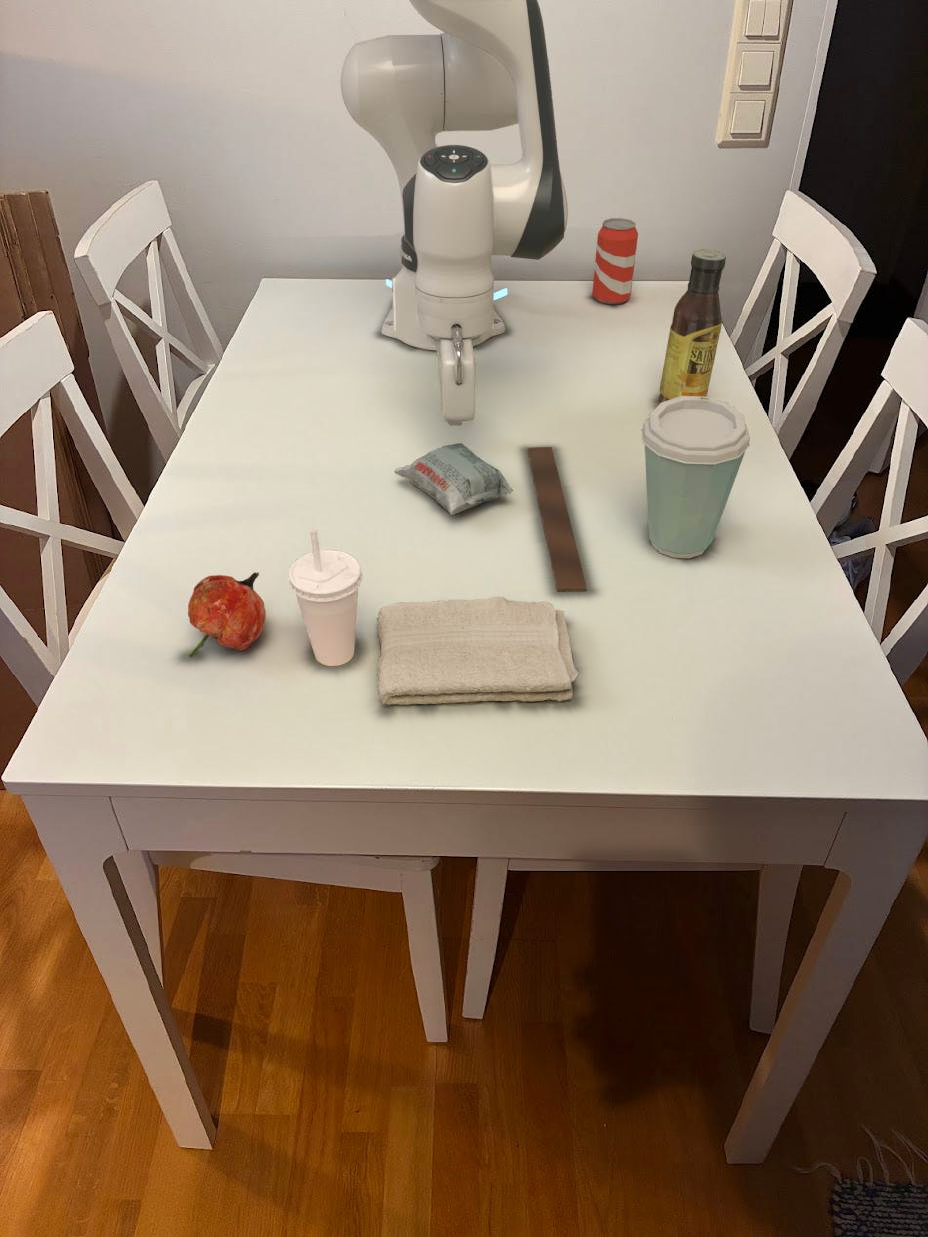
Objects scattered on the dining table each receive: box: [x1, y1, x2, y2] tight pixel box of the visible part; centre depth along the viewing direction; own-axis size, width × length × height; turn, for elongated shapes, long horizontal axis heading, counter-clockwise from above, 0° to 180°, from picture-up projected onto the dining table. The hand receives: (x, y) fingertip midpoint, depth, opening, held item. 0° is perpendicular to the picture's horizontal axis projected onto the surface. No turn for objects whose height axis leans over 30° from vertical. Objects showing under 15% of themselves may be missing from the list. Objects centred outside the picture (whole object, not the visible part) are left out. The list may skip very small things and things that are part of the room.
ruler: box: [526, 446, 588, 592], centre depth 105 cm, size 28×3×1 cm, turn 3°
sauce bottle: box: [658, 249, 727, 404], centre depth 118 cm, size 6×6×20 cm
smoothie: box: [288, 528, 364, 667], centre depth 83 cm, size 6×6×14 cm
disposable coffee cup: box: [640, 396, 751, 559], centre depth 96 cm, size 11×11×15 cm
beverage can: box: [591, 217, 639, 305], centre depth 149 cm, size 6×6×12 cm
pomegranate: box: [187, 572, 267, 658], centre depth 86 cm, size 7×7×10 cm
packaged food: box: [393, 442, 514, 516], centre depth 106 cm, size 9×12×5 cm
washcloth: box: [376, 596, 580, 706], centre depth 85 cm, size 12×18×3 cm, turn 94°
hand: (454, 420), depth 114 cm, fingers closed
